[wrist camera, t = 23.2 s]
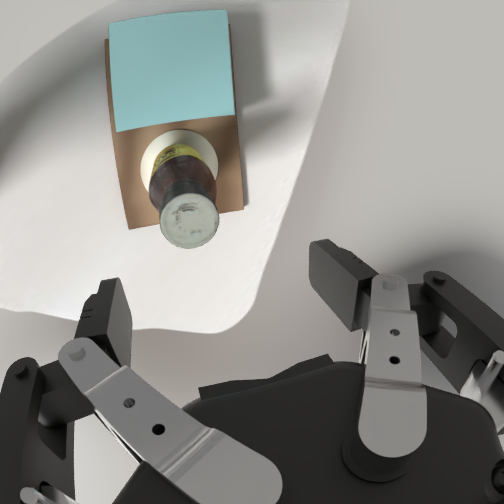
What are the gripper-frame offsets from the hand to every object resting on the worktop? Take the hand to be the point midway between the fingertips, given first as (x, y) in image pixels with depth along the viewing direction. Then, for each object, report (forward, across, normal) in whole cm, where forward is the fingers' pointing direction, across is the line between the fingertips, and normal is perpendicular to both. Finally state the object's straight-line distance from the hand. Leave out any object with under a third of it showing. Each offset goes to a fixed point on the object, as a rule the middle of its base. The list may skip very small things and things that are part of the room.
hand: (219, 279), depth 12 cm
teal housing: (+28, 0, -13) cm, 31 cm away
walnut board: (+30, 0, -6) cm, 30 cm away
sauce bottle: (+28, 0, 0) cm, 28 cm away
